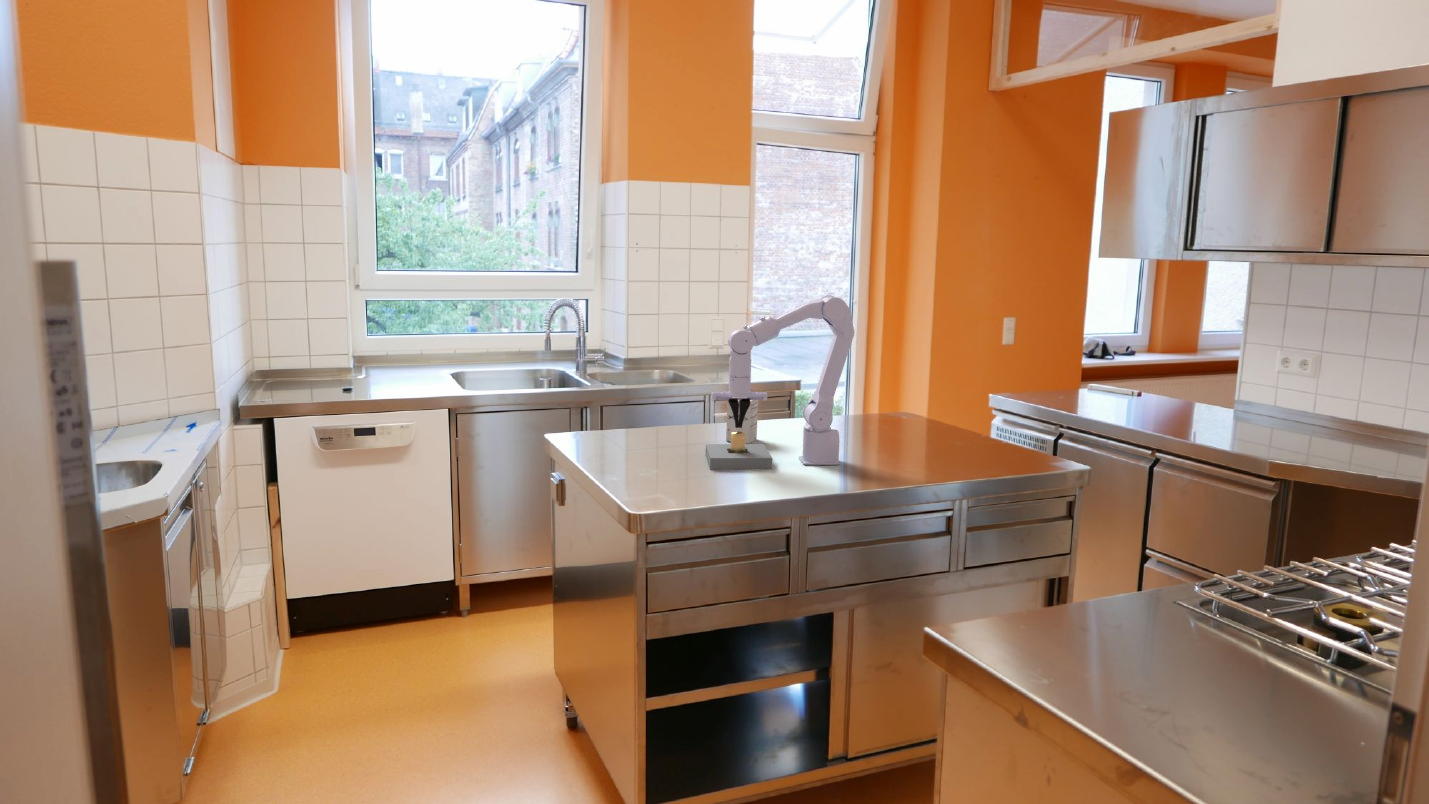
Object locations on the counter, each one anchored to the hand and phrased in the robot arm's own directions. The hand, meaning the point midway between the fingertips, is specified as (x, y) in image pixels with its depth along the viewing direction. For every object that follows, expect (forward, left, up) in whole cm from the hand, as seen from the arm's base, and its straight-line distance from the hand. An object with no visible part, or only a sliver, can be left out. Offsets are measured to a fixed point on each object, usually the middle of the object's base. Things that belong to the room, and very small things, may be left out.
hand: (738, 427), depth 239 cm
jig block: (0, 0, -9) cm, 9 cm away
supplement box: (-4, -26, -10) cm, 28 cm away
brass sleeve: (0, 0, -9) cm, 9 cm away
